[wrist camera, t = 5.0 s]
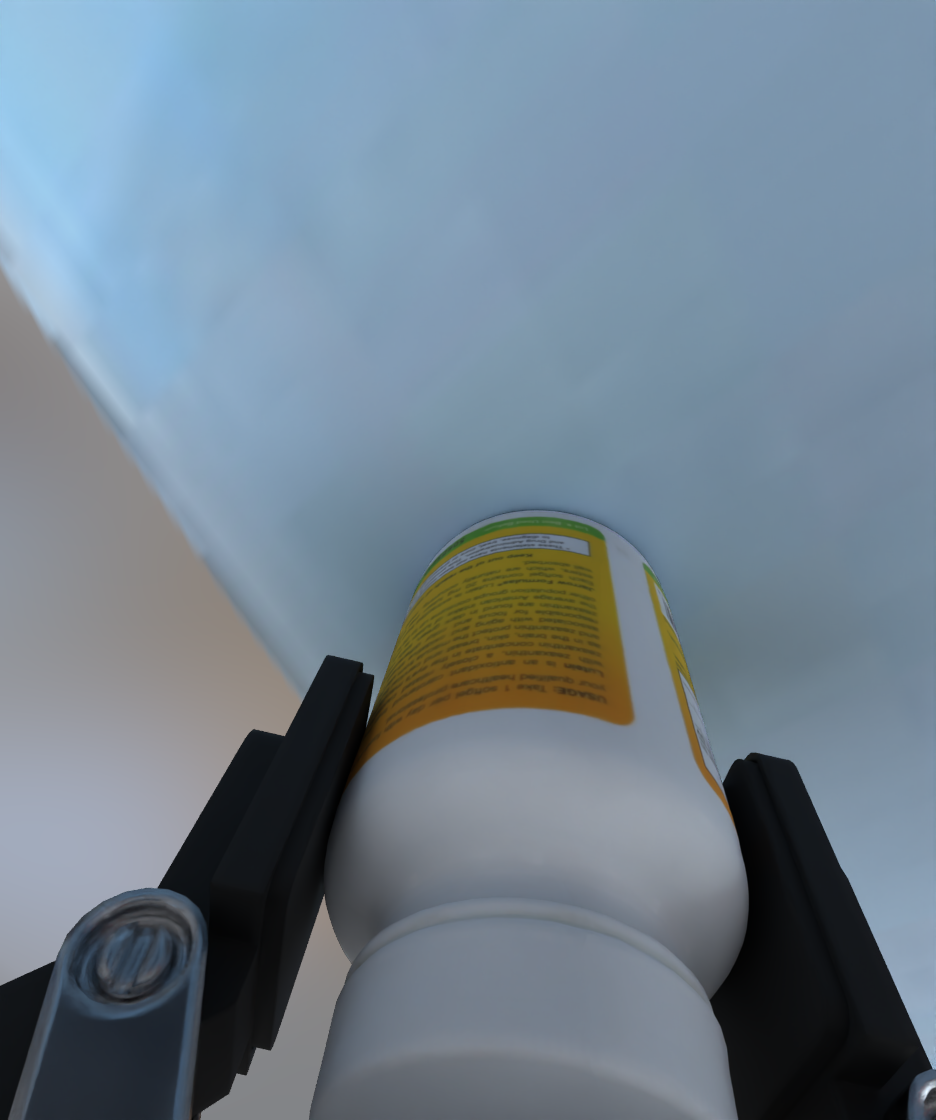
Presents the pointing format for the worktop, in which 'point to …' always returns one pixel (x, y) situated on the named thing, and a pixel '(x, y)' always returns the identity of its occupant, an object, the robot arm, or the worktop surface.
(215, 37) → the worktop surface
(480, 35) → the worktop surface
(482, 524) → the supplement bottle
